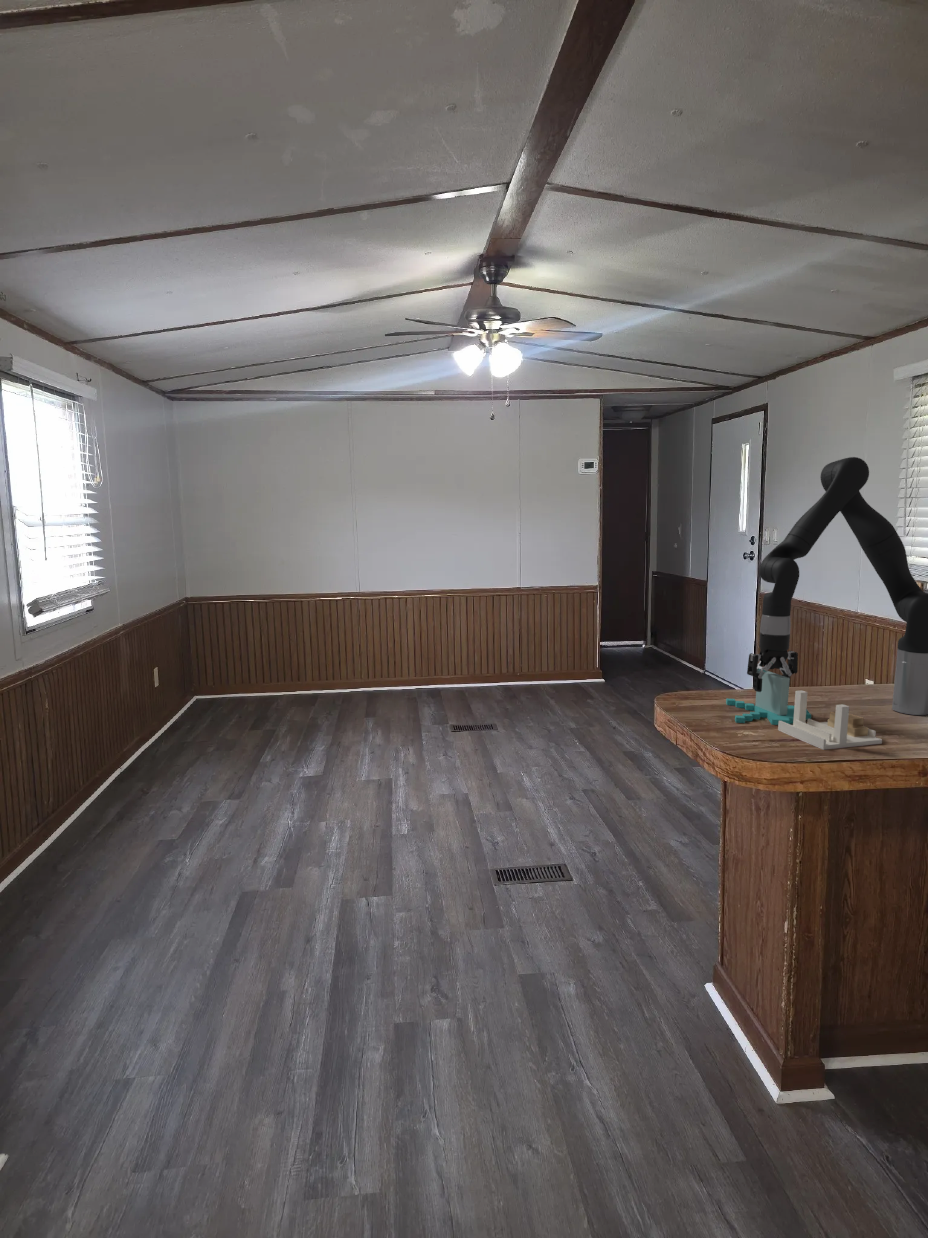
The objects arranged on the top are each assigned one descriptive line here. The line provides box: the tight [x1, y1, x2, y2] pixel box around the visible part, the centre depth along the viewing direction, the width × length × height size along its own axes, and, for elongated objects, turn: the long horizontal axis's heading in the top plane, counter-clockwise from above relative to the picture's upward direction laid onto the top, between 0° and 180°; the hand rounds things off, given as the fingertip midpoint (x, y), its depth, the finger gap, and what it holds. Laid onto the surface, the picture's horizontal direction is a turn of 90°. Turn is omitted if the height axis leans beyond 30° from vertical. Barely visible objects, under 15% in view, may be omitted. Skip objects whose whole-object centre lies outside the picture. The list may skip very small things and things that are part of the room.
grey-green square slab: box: [754, 670, 791, 715], centre depth 209 cm, size 2×10×10 cm, turn 17°
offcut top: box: [828, 710, 865, 727], centre depth 193 cm, size 4×7×2 cm, turn 22°
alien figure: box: [725, 697, 812, 726], centre depth 211 cm, size 20×2×20 cm
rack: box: [777, 689, 883, 751], centre depth 190 cm, size 17×16×10 cm
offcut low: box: [827, 718, 869, 737], centre depth 192 cm, size 4×9×2 cm, turn 16°
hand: (771, 690), depth 210 cm, fingers open, 8 cm apart
